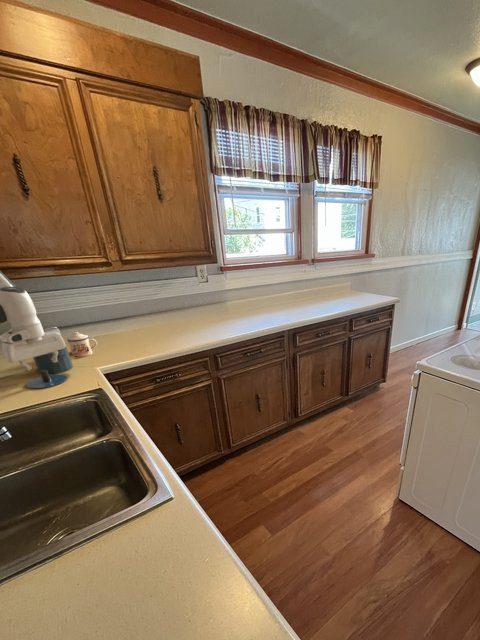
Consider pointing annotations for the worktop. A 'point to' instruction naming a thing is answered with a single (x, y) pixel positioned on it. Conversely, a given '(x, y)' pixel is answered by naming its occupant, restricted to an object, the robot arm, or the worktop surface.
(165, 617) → the worktop surface
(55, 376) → the lid
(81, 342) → the teacup with lid
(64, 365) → the tin
